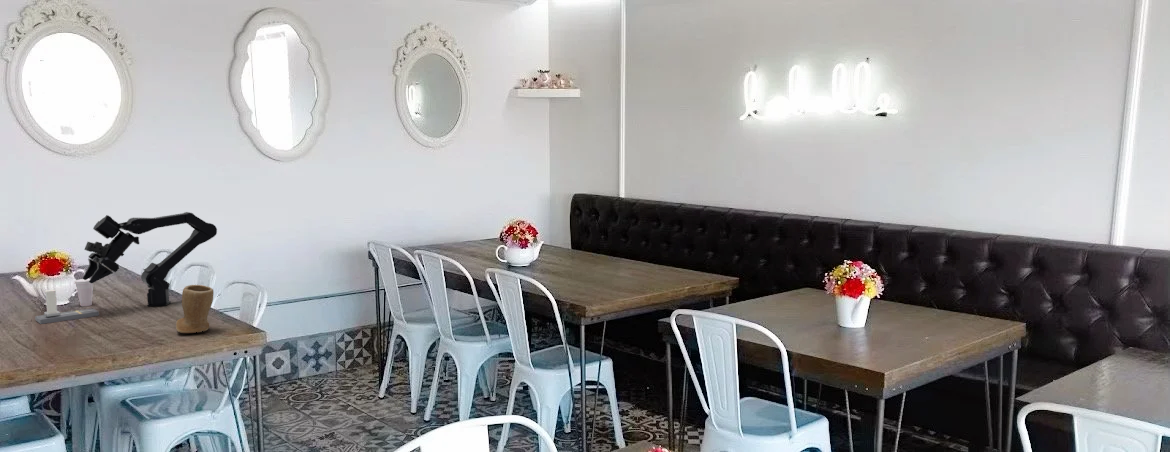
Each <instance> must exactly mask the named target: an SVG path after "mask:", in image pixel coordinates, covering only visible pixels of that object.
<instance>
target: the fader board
mask: <svg viewBox="0 0 1170 452" xmlns="http://www.w3.org/2000/svg"><path fill="white" fill-rule="evenodd" d="M99 312H100V311H99V310H97V309H96V308H94V307H91V308H84V309H79V310H78V309H77V310H70V311H64V312H61V315H57V316H50V317H47V316H46V315H44V314H41V315H36V316H35V315H34V320H35V321H36V323H38V324H40V325H43V324H51V323H57V322H64V321H72V320H77V319H78V320H79V319H86V318H91V317H98V316H100V313H99Z"/></svg>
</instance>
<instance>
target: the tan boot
mask: <svg viewBox="0 0 1170 452" xmlns="http://www.w3.org/2000/svg"><path fill="white" fill-rule="evenodd" d="M214 292H215V291H214V288H212V287H211V286H207V285H201V284H189V285H186V286H184V288H183V289H182V293H181V294H182V295H181V307H182V311H183V316H184V317H181V318H179V319H177V320H176V323H175V329H176V331H177V332H178V333H181V334H194V333H196V332H197V333H203V332H206V331H208V330H209V328H210V323H209V321H208V316H209V312H210V310H211V307H212V304H213V302H214ZM202 331H203V332H202Z"/></svg>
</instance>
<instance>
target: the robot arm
mask: <svg viewBox="0 0 1170 452" xmlns="http://www.w3.org/2000/svg"><path fill="white" fill-rule="evenodd" d="M183 224H187V225H189V226H190V227H191V228H192V229H193V231H192V232H191V234H190V236H189V237H188V238H187V239H186V240H185V241H183V243H181V244H180V245H179V246H178V247H176V248H175V250H173V251H172V252H171V253H169V254H168V256H166V257H165V258H164V259H163V260H161V261H160V262H159V263H154V262H151V263H150V264H149V265H148V266H147V267H146V268H143V269H142V270H143V272H142V273H141V277H140V278H141V282H142V283H143V284H145V285H147V288H148V289H147V291H148V292H147V294H146V299H147V305H146V306H147V307H165V306H168V305H169V304H171V303H172V301H171V300H170V293H169V292H170V291H169V288H170V286H171V285H170V283H169V282H168V281H166V280H165V279H166V278H167V276H168V274H169V272H171V270H172V269H173V268H174V267H175V266H176V265H177V264H179V263H180V262H181V261H183V259H185V257H186V256H188V255H189V254H190V253H192V251H194V250H195V249H196V248H197V247H198V246H200V245H201V244H204V243H206V242H208V241H210V240H212V239H213V238H215V236H217V234H218V233H217V232H218V229H217V227H216V225H214V224H213V223H210V222H206V221H205V220H203V219H201V218H199V216H196V215H195V214H194V213H192V212H189V211H184V212H182V213H177V214H176V213H175V214H171V215H170V214H169V215H163V216H158V217H157V216H156V217H130V218H128V220H127V221H125V222H124V221H123V222H120V223H118V222H117V221H115V219H113V218H112V217H111V216H110V215H108V214H107V215H105V217H103V218H102V219H100V220H98V221H97V222H96V223H95V225H94V226H93V229H92V230H94V231H95V232H97V233H99V235H101V236H102V237H104V238H105V239H107V240H108V239H109V238H111V239H112V240H111V241H110V242H109V243H105V244H104V245H103V243H102V242H99V241H95V242H90V241H87V242H86V244H85V246H84V251H87V252H90V255H88V259H87V260H88V267H87V269H86V273H85V275H84V274H83V276H82V279H84V280H87V279H90V281H89V282H90V283H93V284H95V283H96V282H98V281H99V280H102V279H104V278H105V277H107V276H111V275H112V274H115V273H117V272H118V271H119V269H120V266H119V264H118V263H117V261H118V260H119V258H120V257H123V256H124V255H125V251H127V249H128V248H129V247H130V246H131V245H132V244H133V243H134V244H136V245H140V240H139V239H140V237H139V236H134V235H133V234H135V235H141V234H145V233H148V232H150V231H153V230H155V229H158V228H159V229H160V228H164V227H170V226H171V227H172V226H179V225H183ZM122 230H124V231H125V232H126V231H127V232H126V233H125V232H124V231H122Z"/></svg>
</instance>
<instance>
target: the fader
mask: <svg viewBox="0 0 1170 452" xmlns="http://www.w3.org/2000/svg"><path fill="white" fill-rule="evenodd" d="M44 291H45V292H44V293H45V303H46V304H45V305H46V311H44V312H43V315H46V316H47V317H50V316H57V315H61V313H62V312H60V311H59V310H58V305H57V304H58V303H57V294H56V291H57V290H55V289H48V290H47V289H46V290H44Z"/></svg>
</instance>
